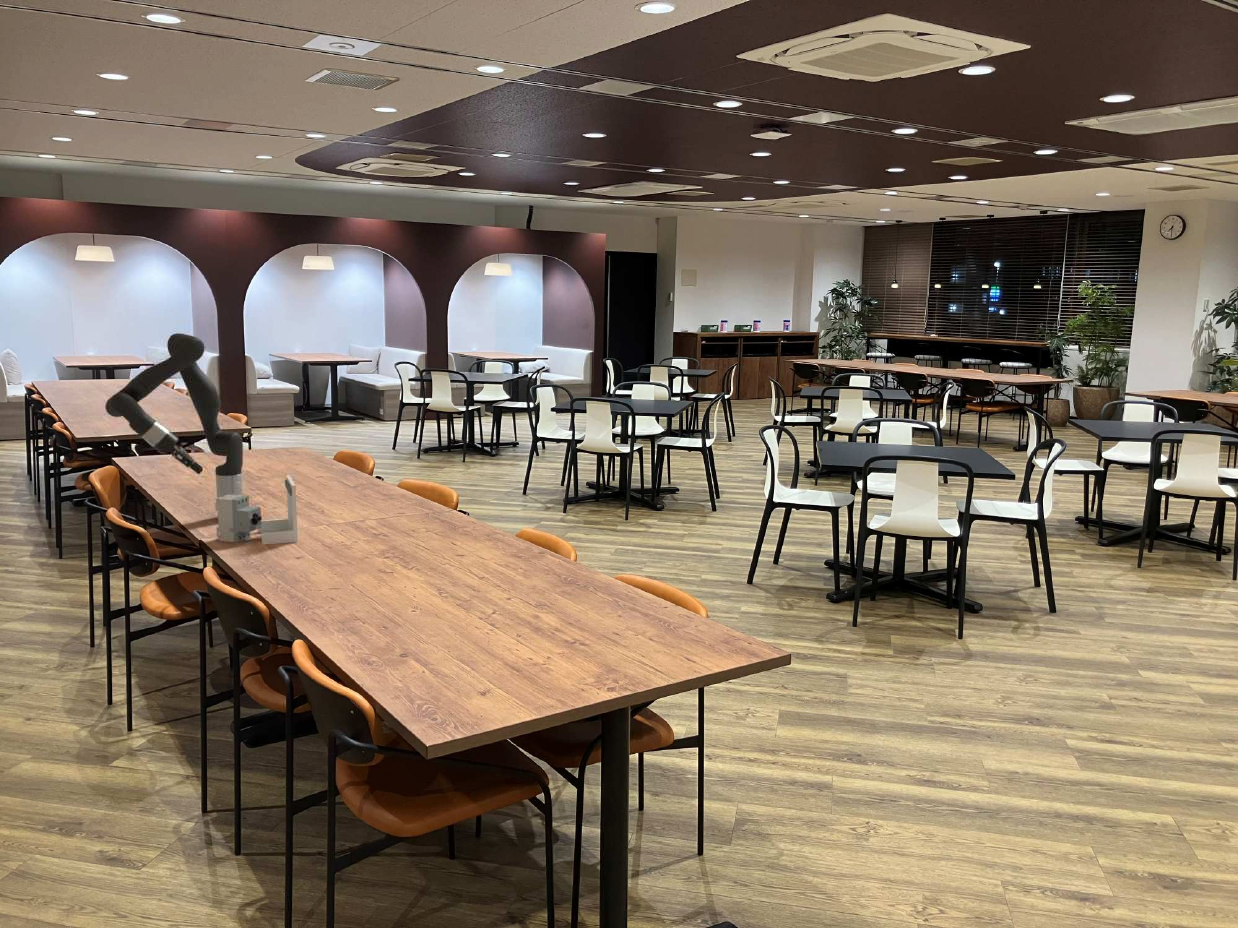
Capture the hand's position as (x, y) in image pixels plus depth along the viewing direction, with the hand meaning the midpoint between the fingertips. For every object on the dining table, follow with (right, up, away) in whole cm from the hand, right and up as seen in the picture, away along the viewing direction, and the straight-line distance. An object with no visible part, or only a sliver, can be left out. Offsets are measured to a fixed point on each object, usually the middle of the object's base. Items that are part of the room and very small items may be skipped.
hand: (200, 471), depth 341 cm
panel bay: (+24, -23, +8) cm, 34 cm away
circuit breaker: (+13, -24, +3) cm, 28 cm away
